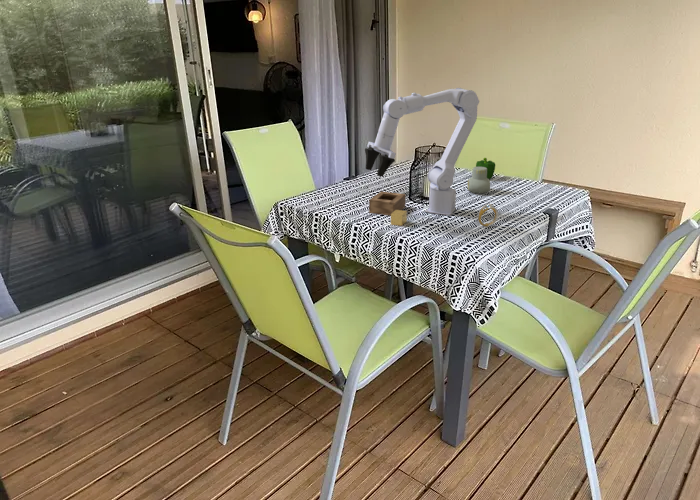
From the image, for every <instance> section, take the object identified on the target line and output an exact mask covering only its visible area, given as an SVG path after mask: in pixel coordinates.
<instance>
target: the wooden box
mask: <svg viewBox="0 0 700 500" xmlns="http://www.w3.org/2000/svg"><path fill="white" fill-rule="evenodd" d="M406 202H407V201H406V193H398V192H390V191H380V192H378V193H377V194H375V195H374V196H372V197H371V198H370V199H369V200H368V204H369V205H368V211H369V212H368V213H370V214H378V215H384V216H390V217H391V213H393V212H394V211H395V210H402V211H403V209H404V208H405V207H406Z"/></svg>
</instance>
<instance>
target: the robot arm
mask: <svg viewBox="0 0 700 500" xmlns="http://www.w3.org/2000/svg"><path fill="white" fill-rule="evenodd" d="M397 98H398V99H395V98H390V99H388V100H387V101H385V103H384V104H383V106H382V109H383V110H382V111H383V115H382V118H381V122H380V124H379V127H378V130H377V131H378V132H377V135H376V137H375V140H374V142H372V141H367V142H368V143H367V145H366V146H367V147H366V148H364V152H365V169H366V170H368V171H372V169H373V167H374V165H375V161H376V160H377V158H378V157H379V158H378V159H379V161H378V162H379V164H378V168H377V171H376V172H377V173H376V175H377V176H378V177H384V176H385V174H386V172H387V171H388V170H389V168H390V167H391V165H392V164H393V163H395V161H396V156H397V153H396V152H394V151H393V150H391V148H392V145H393V141H394V137H395V136H396V135H395V134H396V132H397V129H398V126H399V123H400V122H399V121H400V119H401V118H402V117H403V116H405V115H410V114H413V113H417V112H421V111H423V110H424V108H425V107H427V106H433V105H438V104H442V103H451V105H452V106H453V107H454V108H455V110H456V111H457V114H458V116H459V119H458V122H457V124H456V126H455V128H454V131H453V132H452V134H451V136H450V138H449V141H448V144H447V145H446V146H445V149H444V151H443V153H442V155H441V157H440V159H439V160H437V161H436V162H435V163H434V165H433V166H432V167H431V169H429V171H428V173H427V179H428V182H429V183H430V184H429V193H428V195H429V196H428V197H429V198H428V203H429V204H428V207H427V209H425V213H428V214H429V213H430V214H436V215H445V216H451V215H452V214H453V212H454V211H455V210H456V199H457V190H456V189H455V188H451V187H452V185H453V183H454V176H455V174H456V169H455V165H456V163H457V161H458V159H459V156H460V154H461V152H462V150H463V149H464V146H465V144H466V142H467V140H468V138H469V136H470V135H471V132H472V130H473V128H474V126H475V124H476V122H477V119H478V106H479V104H480V99H479V96H478V94H477V93H476V91H474V90H471V89H465V88H461V87H456V88H448V89H444V90H442V91H438V92H434V93H430V94H427V95H422V94H421V93H416V92H412V93H411V95H407V96H398V97H397Z"/></svg>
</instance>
